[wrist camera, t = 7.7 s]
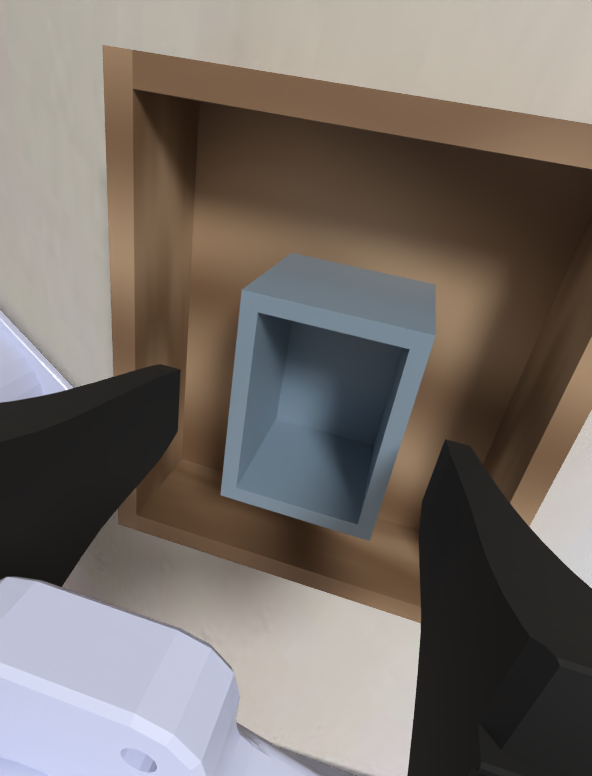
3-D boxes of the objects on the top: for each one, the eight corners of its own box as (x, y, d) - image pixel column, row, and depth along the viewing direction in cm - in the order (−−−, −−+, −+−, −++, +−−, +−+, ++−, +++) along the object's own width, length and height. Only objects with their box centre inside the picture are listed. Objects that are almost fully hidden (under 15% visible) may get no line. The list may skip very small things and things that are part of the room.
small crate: (384, 452, 19) (369, 541, 15) (266, 420, 20) (220, 495, 16) (435, 284, 16) (435, 335, 12) (291, 252, 17) (242, 289, 12)
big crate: (462, 548, 21) (469, 638, 17) (171, 460, 23) (118, 524, 19) (645, 147, 13) (731, 147, 10) (185, 70, 16) (102, 45, 12)
